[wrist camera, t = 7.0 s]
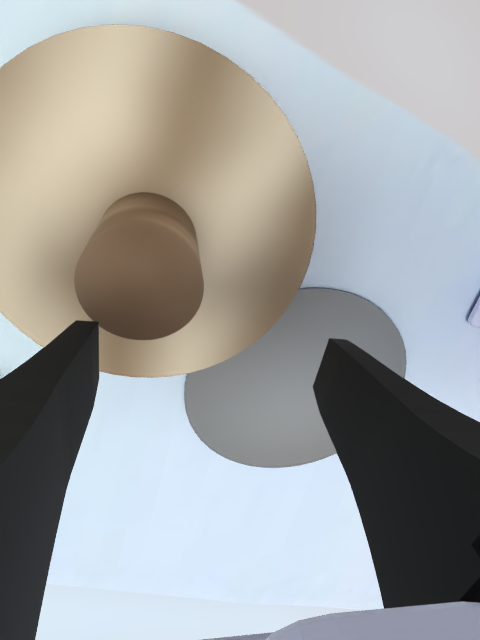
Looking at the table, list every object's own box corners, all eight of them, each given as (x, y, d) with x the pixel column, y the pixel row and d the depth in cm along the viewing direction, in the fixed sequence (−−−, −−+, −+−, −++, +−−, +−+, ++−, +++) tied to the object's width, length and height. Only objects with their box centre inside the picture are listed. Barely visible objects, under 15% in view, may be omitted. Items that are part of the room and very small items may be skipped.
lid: (357, 90, 14) (437, 90, 9) (264, 377, 20) (288, 452, 16) (-67, -35, 10) (-221, -115, 6) (-21, 352, 17) (-84, 437, 12)
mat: (439, 298, 24) (443, 301, 23) (362, 462, 31) (364, 466, 31) (198, 276, 21) (198, 279, 20) (175, 464, 28) (175, 469, 28)
